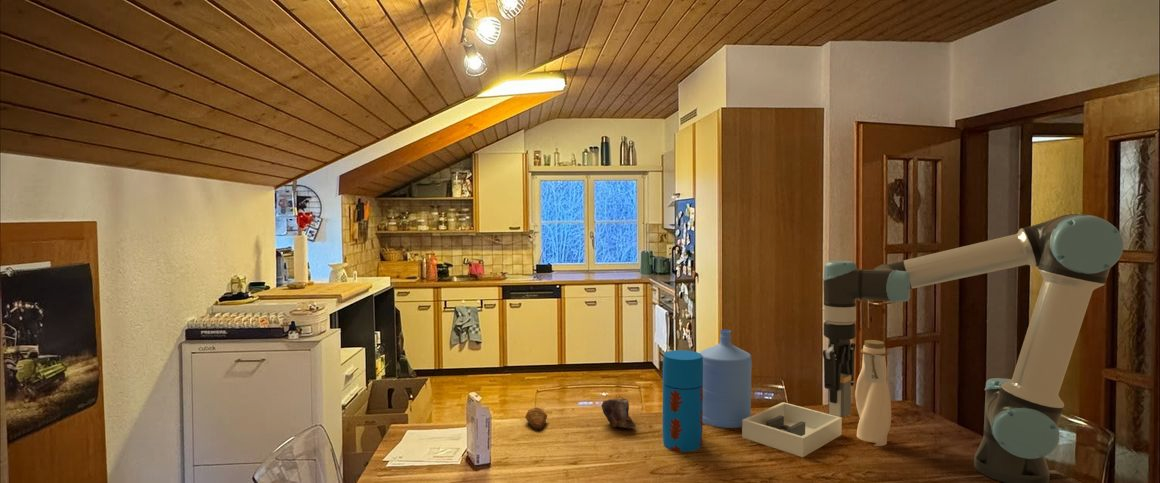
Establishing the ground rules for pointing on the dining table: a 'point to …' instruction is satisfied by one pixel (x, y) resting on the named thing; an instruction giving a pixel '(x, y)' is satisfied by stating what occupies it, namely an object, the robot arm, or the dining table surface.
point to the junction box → (816, 426)
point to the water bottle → (873, 395)
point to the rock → (617, 413)
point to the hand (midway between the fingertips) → (839, 412)
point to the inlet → (779, 424)
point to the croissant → (536, 418)
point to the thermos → (682, 400)
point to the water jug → (726, 384)
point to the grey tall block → (844, 395)
